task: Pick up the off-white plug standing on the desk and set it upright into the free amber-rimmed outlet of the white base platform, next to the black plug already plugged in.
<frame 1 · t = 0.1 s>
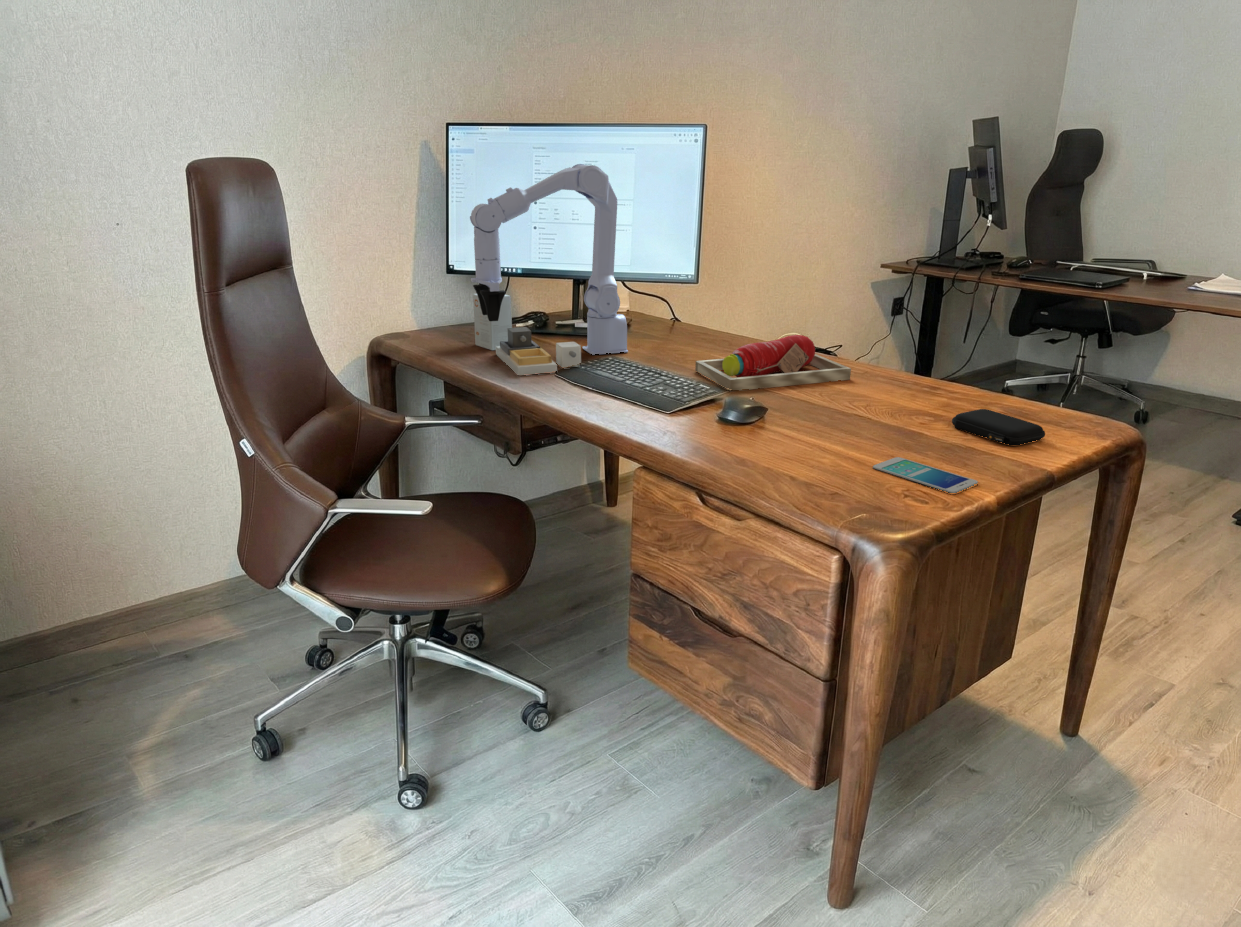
hand: (490, 317, 213), 10 cm above the table, tool pointing down, fingers open, 7 cm apart
water bottle: (771, 376, 204), resting in desk tray
twin plug: (519, 350, 217), point 2 cm above the table, touching white base platform
plug: (568, 365, 212), on the table
small box: (494, 347, 230), on the table
smartphone: (923, 479, 145), on the table
desk tray: (771, 375, 203), on the table
carrying case or bag: (993, 436, 165), on the table
white base platform: (525, 363, 213), on the table
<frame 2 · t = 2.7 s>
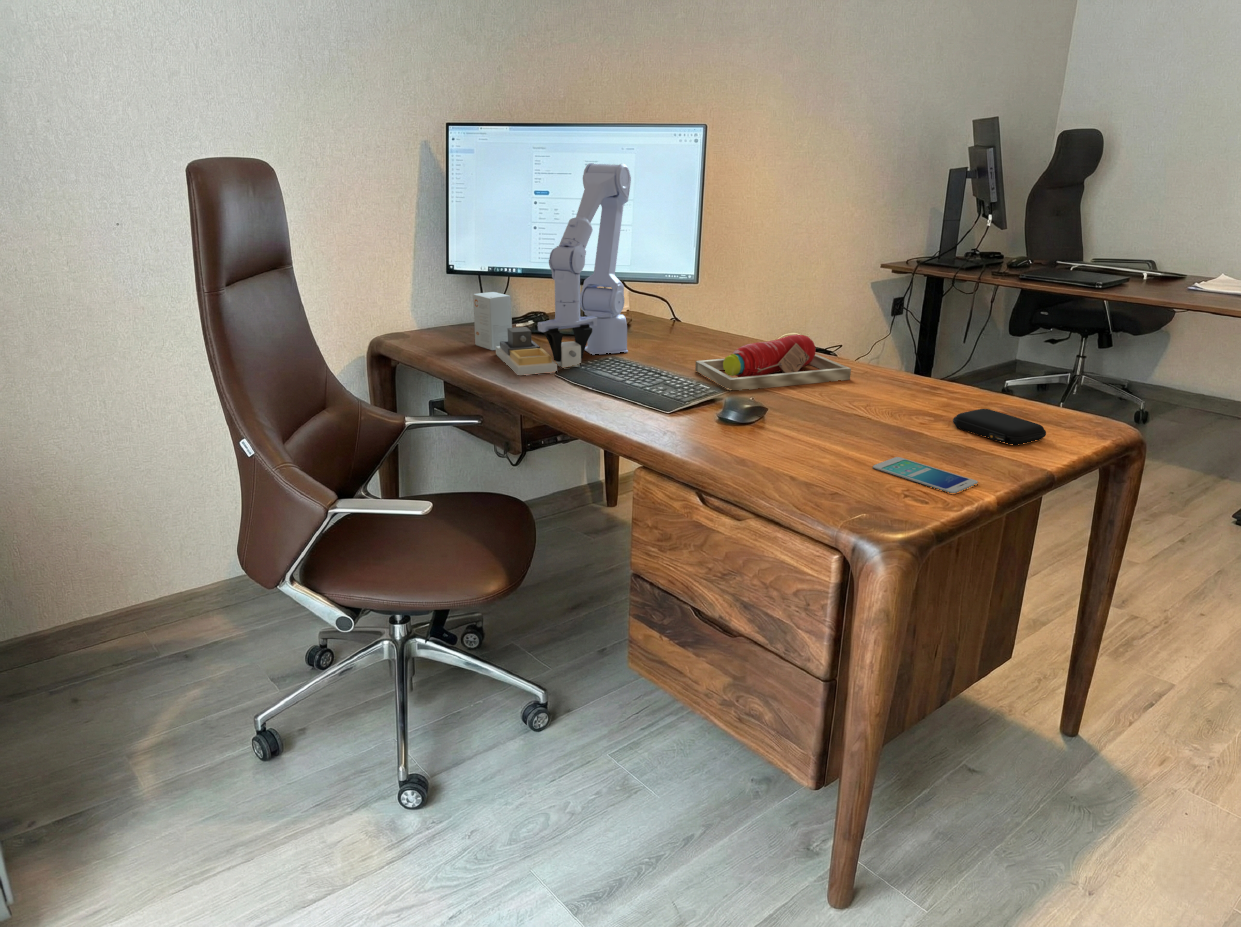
hand: (568, 359, 211), 1 cm above the table, tool pointing down, fingers closed on plug, 5 cm apart
plug: (568, 365, 212), on the table, touching gripper
everything else where it was.
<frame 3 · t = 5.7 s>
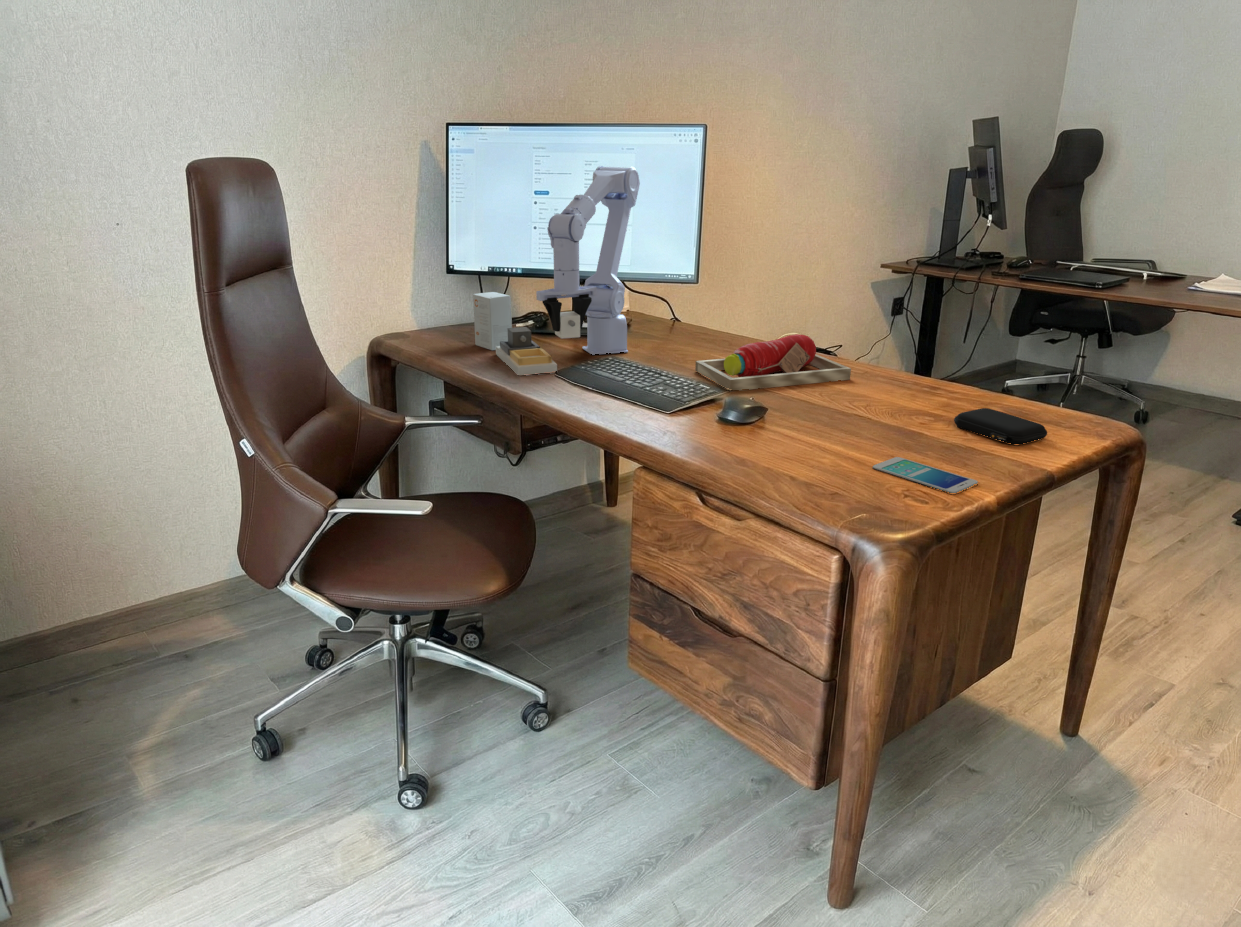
hand: (567, 329, 209), 8 cm above the table, tool pointing down, fingers closed on plug, 5 cm apart
plug: (567, 335, 209), point 7 cm above the table, touching gripper
everything else where it was.
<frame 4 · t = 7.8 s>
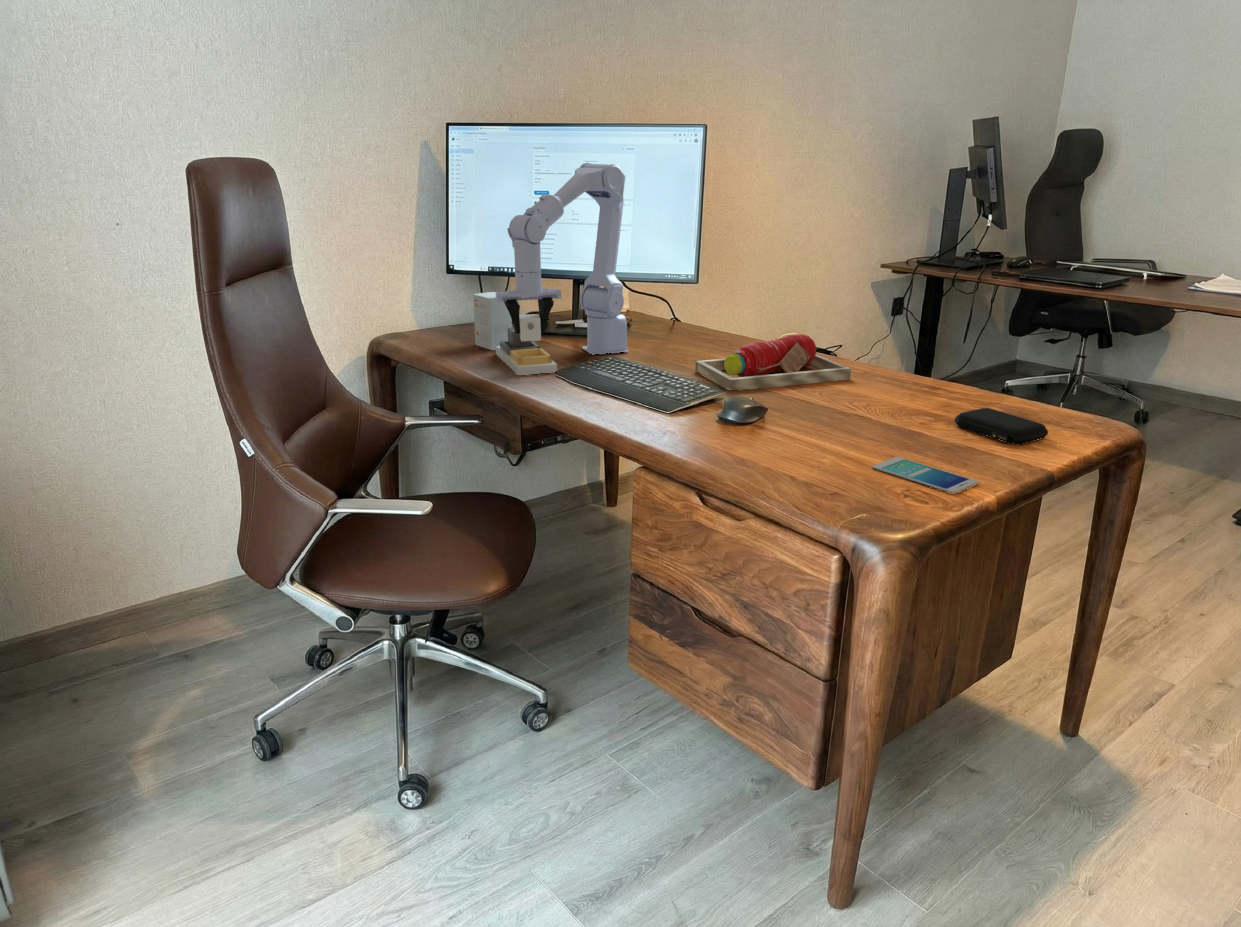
hand: (529, 332, 206), 8 cm above the table, tool pointing down, fingers closed on plug, 5 cm apart
plug: (530, 338, 206), point 7 cm above the table, touching gripper
when the fingers open (4 cm above the table, at t = 9.2 s): plug stays where it is, resting on white base platform.
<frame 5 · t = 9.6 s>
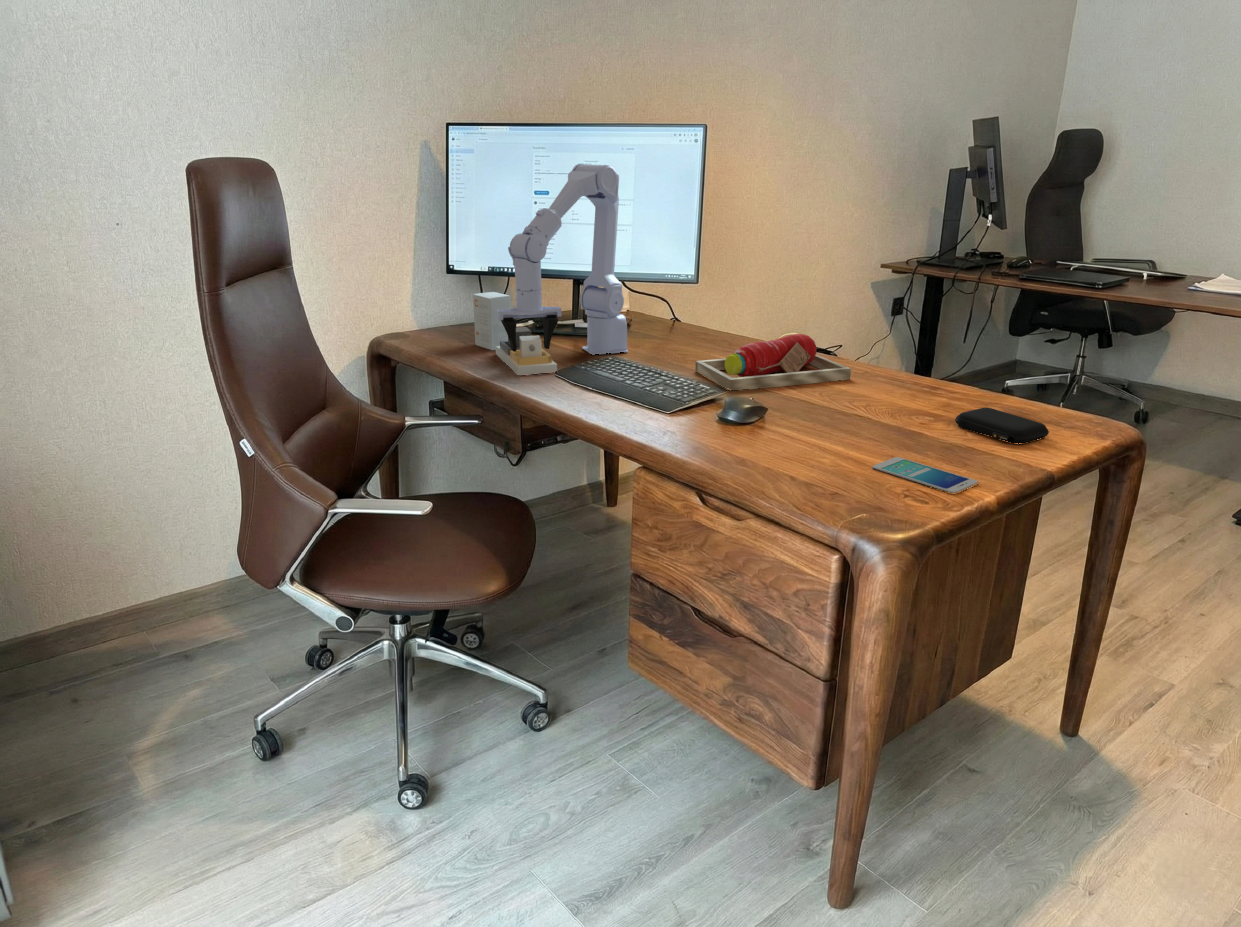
hand: (530, 349, 207), 4 cm above the table, tool pointing down, fingers open, 7 cm apart
plug: (530, 359, 208), point 2 cm above the table, touching white base platform
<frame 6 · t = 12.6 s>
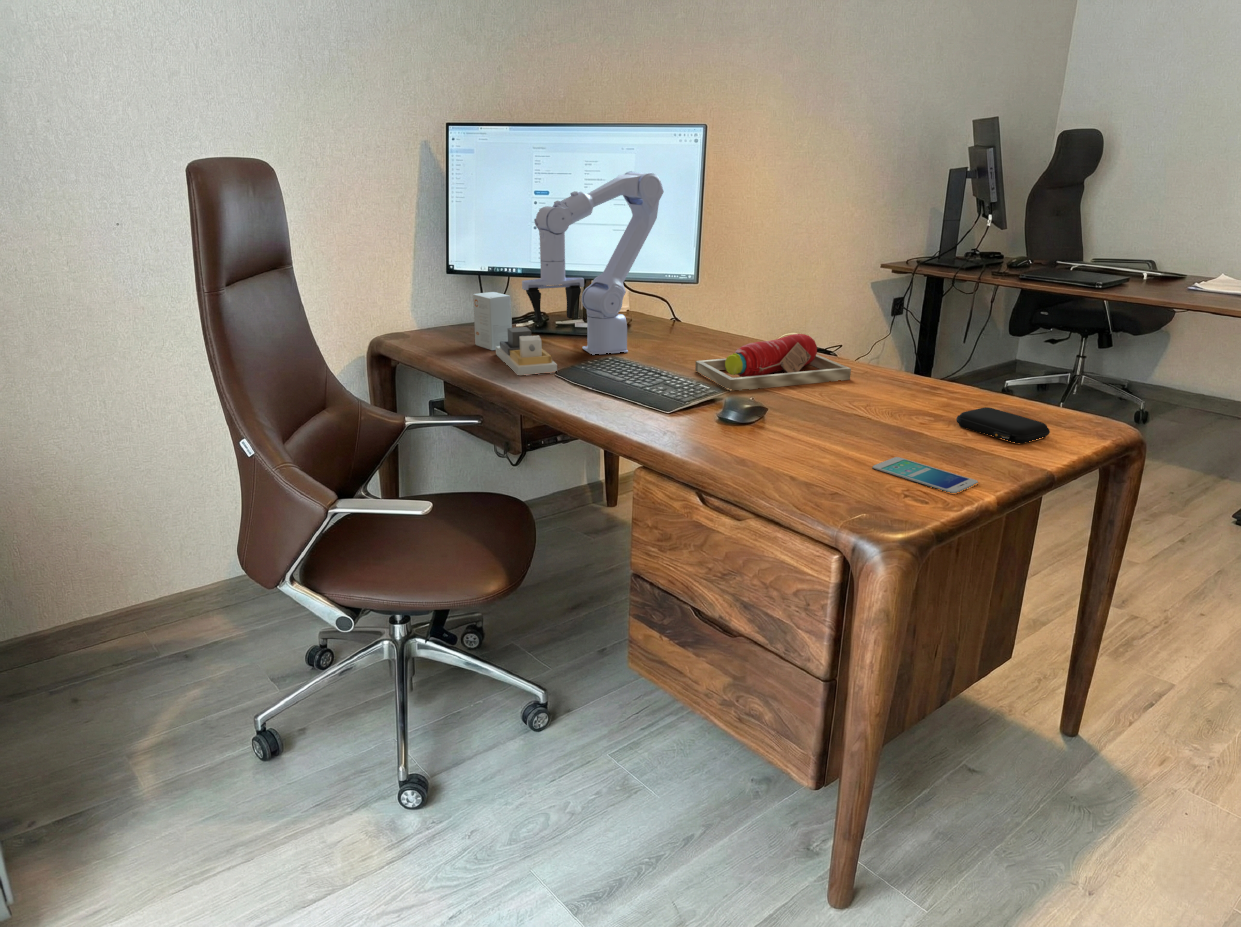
hand: (554, 318, 215), 9 cm above the table, tool pointing down, fingers open, 7 cm apart
at the end: plug 0.1 cm from the target spot on the white base platform, point 2.0 cm above the white base platform's base; plug tilted 0°; the gripper is holding nothing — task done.
